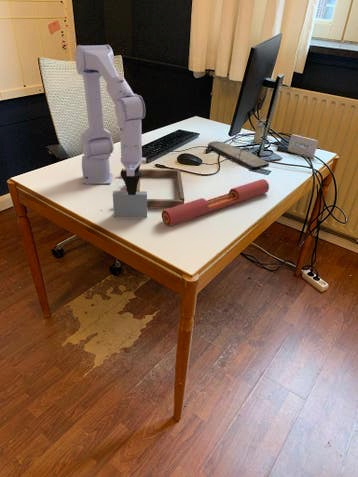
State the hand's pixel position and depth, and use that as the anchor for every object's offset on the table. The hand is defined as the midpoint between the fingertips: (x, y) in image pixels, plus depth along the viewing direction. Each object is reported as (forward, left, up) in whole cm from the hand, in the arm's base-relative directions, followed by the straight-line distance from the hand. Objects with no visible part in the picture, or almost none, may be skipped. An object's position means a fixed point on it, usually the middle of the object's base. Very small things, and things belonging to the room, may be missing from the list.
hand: (132, 188), depth 104 cm
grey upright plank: (-1, 0, -10) cm, 10 cm away
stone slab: (+42, +50, -10) cm, 66 cm away
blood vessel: (+28, +6, -10) cm, 30 cm away
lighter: (+57, +70, -10) cm, 91 cm away
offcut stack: (0, +17, -10) cm, 19 cm away
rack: (+5, +17, -9) cm, 20 cm away
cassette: (+72, +54, -10) cm, 91 cm away
